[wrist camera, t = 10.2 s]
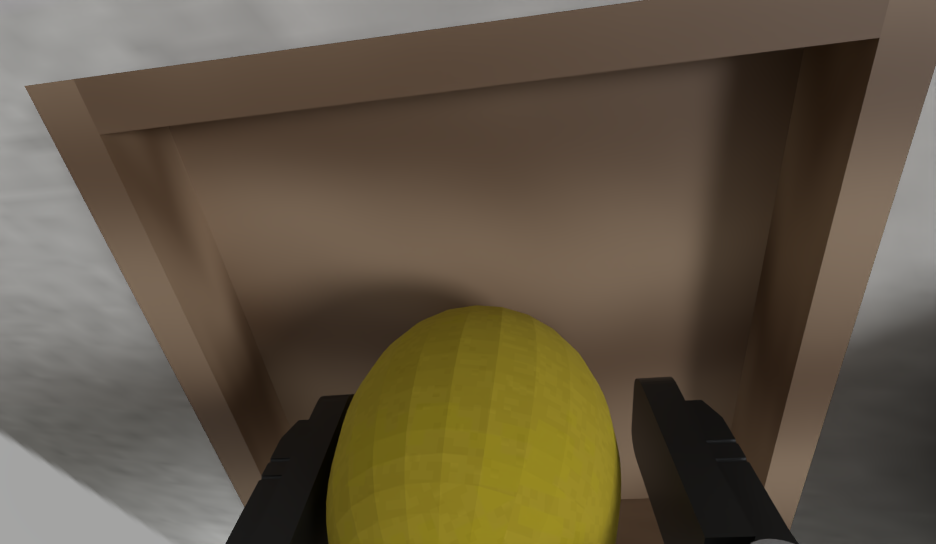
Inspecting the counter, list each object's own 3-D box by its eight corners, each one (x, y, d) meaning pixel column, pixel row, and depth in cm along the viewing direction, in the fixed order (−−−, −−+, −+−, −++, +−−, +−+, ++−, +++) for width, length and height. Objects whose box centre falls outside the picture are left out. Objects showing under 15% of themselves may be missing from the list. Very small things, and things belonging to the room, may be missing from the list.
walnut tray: (135, 73, 11) (24, 85, 9) (838, -24, 10) (970, -46, 7) (313, 502, 18) (283, 581, 16) (731, 488, 17) (776, 574, 14)
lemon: (448, 435, 15) (368, 796, 8) (363, 292, 13) (148, 593, 6) (620, 391, 13) (723, 795, 6) (552, 220, 11) (583, 513, 4)
